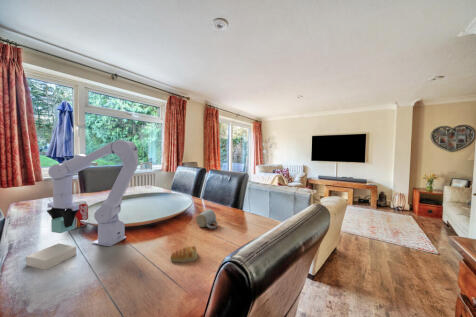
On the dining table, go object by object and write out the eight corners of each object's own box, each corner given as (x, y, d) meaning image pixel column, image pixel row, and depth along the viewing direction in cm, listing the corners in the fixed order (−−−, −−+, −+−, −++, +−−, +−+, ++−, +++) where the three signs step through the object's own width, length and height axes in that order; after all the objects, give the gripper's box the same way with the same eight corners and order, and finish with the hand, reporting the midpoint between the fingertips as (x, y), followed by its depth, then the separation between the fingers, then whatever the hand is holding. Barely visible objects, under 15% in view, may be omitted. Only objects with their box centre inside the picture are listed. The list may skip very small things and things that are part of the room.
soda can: (77, 229, 88) (77, 205, 87) (65, 228, 89) (65, 204, 89) (91, 224, 95) (91, 201, 94) (80, 222, 96) (80, 200, 96)
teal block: (74, 228, 76) (74, 216, 76) (60, 233, 71) (60, 220, 71) (66, 226, 77) (65, 215, 77) (51, 231, 72) (51, 219, 72)
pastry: (170, 266, 61) (170, 255, 61) (170, 255, 68) (170, 245, 68) (198, 261, 65) (198, 250, 65) (195, 251, 71) (196, 241, 71)
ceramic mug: (195, 226, 94) (195, 211, 94) (205, 221, 101) (205, 207, 101) (210, 231, 89) (211, 216, 88) (220, 225, 96) (221, 211, 95)
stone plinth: (76, 254, 67) (76, 246, 67) (45, 269, 58) (45, 260, 58) (58, 251, 69) (58, 243, 69) (26, 265, 60) (25, 256, 60)
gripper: (86, 192, 76) (87, 224, 76) (61, 190, 79) (62, 220, 80) (67, 196, 69) (68, 231, 69) (40, 193, 72) (41, 226, 73)
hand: (63, 225), depth 74 cm, fingers closed on teal block, 5 cm apart
